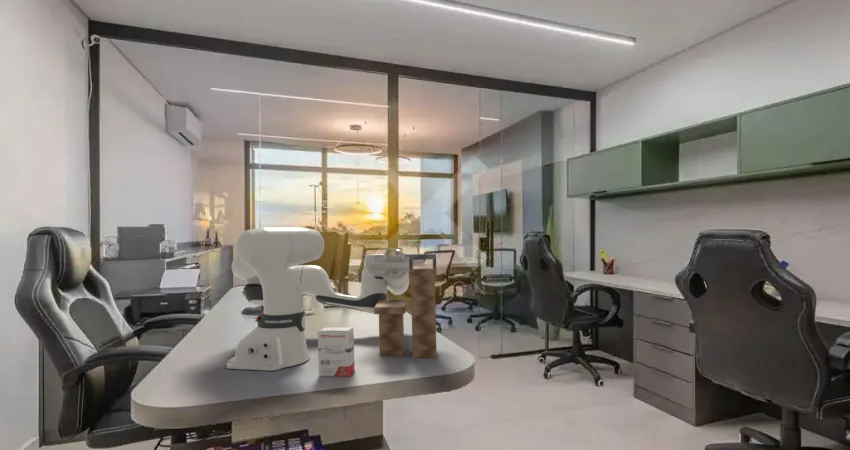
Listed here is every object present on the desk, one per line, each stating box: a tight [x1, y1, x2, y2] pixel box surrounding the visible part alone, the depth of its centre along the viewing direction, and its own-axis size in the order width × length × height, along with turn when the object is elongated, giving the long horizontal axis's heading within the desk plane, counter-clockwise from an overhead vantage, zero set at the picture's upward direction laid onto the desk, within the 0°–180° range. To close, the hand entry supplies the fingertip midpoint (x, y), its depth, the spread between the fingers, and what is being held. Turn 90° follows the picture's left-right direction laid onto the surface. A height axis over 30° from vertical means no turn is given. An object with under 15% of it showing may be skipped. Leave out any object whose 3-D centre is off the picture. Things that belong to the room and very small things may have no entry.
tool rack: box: [374, 253, 438, 359], centre depth 127 cm, size 18×13×30 cm
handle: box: [385, 248, 398, 257], centre depth 133 cm, size 2×15×2 cm, turn 0°
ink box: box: [317, 326, 356, 377], centre depth 109 cm, size 9×5×12 cm, turn 84°
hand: (393, 251), depth 137 cm, fingers closed on handle, 2 cm apart
